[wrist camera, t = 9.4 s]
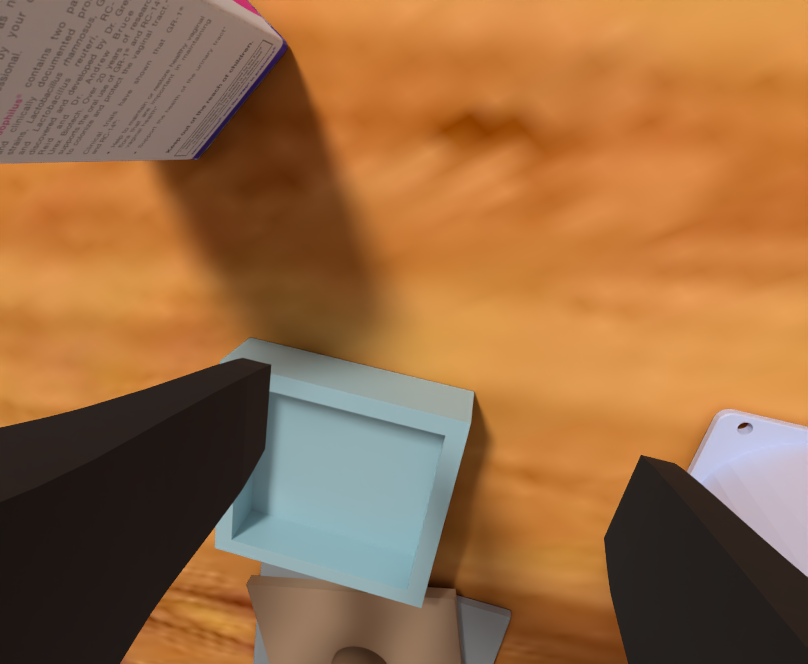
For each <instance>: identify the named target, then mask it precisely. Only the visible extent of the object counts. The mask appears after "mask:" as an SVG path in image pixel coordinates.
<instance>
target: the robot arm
mask: <svg viewBox="0 0 808 664" xmlns="http://www.w3.org/2000/svg"><path fill="white" fill-rule="evenodd" d="M270 377H271V364H267V363H262V362H258V361H254V360H250V359H246V358H239V359H235V360H231V361H228V362H224V363H221V364H218V365H215V366H212V367H209V368H206V369H203V370H200V371H197V372H194V373H192V374H189V375H186V376H183V377H180V378H177V379H174V380H171V381H168V382H165V383H162V384H159V385H156V386H153V387H150V388H147V389H144V390H141V391H138V392H135V393H131V394H128V395H125V396H121V397H118V398H115V399H111V400H108V401H105V402H101V403H98V404H95V405H92V406H88V407H85V408H81V409H77V410H74V411H70V412H66V413H62V414H58V415H54V416H50V417H46V418H41V419H37V420H33V421H28V422H24V423H19V424H15V425H10V426H6V427H1V428H0V664H120V662H121V661H122V659H123V658H124V656H125V654H126V653H127V651H128V650H129V648H130V646H131V645H132V643H133V641H134V640H135V638H136V637H137V635H138V633H139V632H140V630H141V629H142V627H143V625H144V624H145V622H146V621H147V619H148V617H149V616H150V614H151V613H152V611H153V610H154V608H155V607H156V605H157V604H158V603H159V601H160V600H161V598H162V597H163V595H164V594H165V593H166V591H167V590H168V588H169V587H170V586H171V584H172V583H173V582H174V580H175V579H176V578H177V576H178V575H179V574H180V572H181V571H182V570H183V568H184V567H185V566H186V565H187V563H188V562H189V561H190V559H191V558H192V557H193V555H194V554H195V553H196V551H197V550H198V549H199V547H200V546H201V545H202V543H203V542H204V541H205V539H206V538H207V537H208V535H209V534H210V533H211V532H212V530H213V529H214V528H215V526H216V525H217V524H218V522H219V521H220V520H221V518H222V517H223V516H224V514H225V513H226V511H227V510H228V509H229V507H230V506H231V505H232V503H233V502H234V501H235V499H236V498H237V497H238V495H239V494H240V492H241V491H242V489H243V488H244V486H245V484H246V483H247V481H248V479H249V477H250V476H251V474H252V472H253V470H254V469H255V467H256V465H257V463H258V461H259V459H260V458H261V456H262V454H263V452H264V450H265V445H266V431H267V418H268V404H269V391H270ZM744 422H745V423H748V425H747V426H746V427H745V428H742V429H737V428H738V426H739V425H740V424H742V423H744ZM604 542H605V552H606V562H607V571H608V578H609V586H610V592H611V597H612V601H613V605H614V609H615V613H616V617H617V621H618V625H619V629H620V633H621V637H622V641H623V645H624V649H625V653H626V656H627V660H628V664H808V427H806V426H802V425H798V424H794V423H789V422H785V421H781V420H776V419H772V418H768V417H764V416H759V415H755V414H751V413H746V412H742V411H738V410H734V409H725V410H721V411H720V412H718V413H717V414H716V415H715V416H714V418H713V420H712V422H711V424H710V426H709V428H708V430H707V432H706V434H705V436H704V438H703V440H702V442H701V444H700V446H699V448H698V450H697V452H696V454H695V456H694V458H693V460H692V462H691V464H690V466H689V468H688V470H687V472H686V471H685V470H683V469H682V468H681V467H679V466H678V465H677V464H675V463H671V462H667V461H663V460H659V459H655V458H651V457H647V456H643V455H641V456H640V459H639V461H638V463H637V465H636V467H635V470H634V472H633V474H632V476H631V479H630V481H629V483H628V485H627V488H626V490H625V492H624V494H623V497H622V499H621V501H620V503H619V506H618V508H617V510H616V512H615V515H614V517H613V519H612V521H611V524H610V526H609V528H608V530H607V533H606V535H605V537H604Z"/></svg>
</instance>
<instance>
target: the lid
mask: <svg viewBox="0 0 808 664" xmlns="http://www.w3.org/2000/svg"><path fill="white" fill-rule="evenodd" d="M246 585H247V588H248V592H249V595H250V599H251V602H252V605H253V609H254V612H255V616H256V619H257V622H258V626H259V629H260V633H261V636H262V639H263V643H264V646H265V650H266V653H267V656H268V660H269V663H270V664H463V657H462V647H461V637H460V627H459V617H458V607H457V597H456V589H448V588H434V587H427V589H426V592H425V596H424V600H423V604H422V607H421V608H419V607H416V606H412V605H409V604H405V603H402V602H398V601H395V600H392V599H388V598H385V597H381V596H378V595H374V594H371V593H368V592H364V591H361V590H357V589H354V588H350V587H347V586H344V585H340V584H337V583H333V582H330V581H326V580H316V579H302V578H287V577H272V576H258V575H251V577H250V579H249V580H248V582H247V584H246Z"/></svg>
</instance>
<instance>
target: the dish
mask: <svg viewBox="0 0 808 664" xmlns="http://www.w3.org/2000/svg"><path fill="white" fill-rule="evenodd" d="M239 358H246V359H250V360H254V361H258V362H262V363H267V364H271V377H270V391H269V404H268V418H267V431H266V445H265V450H264V452H263V454H262V456H261V458H260V459H259V461H258V463H257V465H256V467H255V469H254V470H253V472H252V474H251V476H250V477H249V479H248V481H247V483H246V484H245V486H244V488H243V489H242V491H241V492H240V494H239V495H238V497H237V498H236V499H235V501H234V502H233V503H232V505H231V506H230V507H229V509H228V510H227V511H226V513H225V514H224V516H223V517H222V518H221V520H220V521H219V522H218V524H217V525H216V530H215V548H216V549H220V550H223V551H227V552H230V553H234V554H237V555H241V556H244V557H247V558H251V559H254V560H258V561H261V562H265V563H268V564H271V565H275V566H278V567H282V568H285V569H289V570H292V571H295V572H299V573H302V574H306V575H309V576H313V577H316V578H319V579H323V580H326V581H330V582H333V583H337V584H340V585H344V586H347V587H350V588H354V589H357V590H361V591H364V592H368V593H371V594H374V595H378V596H381V597H385V598H388V599H392V600H395V601H398V602H402V603H405V604H409V605H412V606H416V607H419V608H421V607H422V604H423V600H424V596H425V592H426V589H427V585H428V581H429V578H430V574H431V570H432V566H433V563H434V559H435V555H436V552H437V548H438V544H439V540H440V537H441V533H442V529H443V526H444V522H445V518H446V514H447V511H448V507H449V503H450V500H451V496H452V492H453V488H454V485H455V481H456V477H457V474H458V470H459V466H460V462H461V459H462V455H463V451H464V448H465V444H466V440H467V436H468V433H469V429H470V425H471V418H472V409H473V399H474V391H469V390H465V389H461V388H457V387H453V386H449V385H445V384H441V383H436V382H432V381H428V380H424V379H420V378H416V377H412V376H408V375H403V374H399V373H395V372H391V371H387V370H383V369H379V368H375V367H371V366H366V365H362V364H358V363H354V362H350V361H346V360H342V359H338V358H333V357H329V356H325V355H321V354H317V353H313V352H309V351H305V350H300V349H296V348H292V347H288V346H284V345H280V344H276V343H272V342H268V341H263V340H259V339H255V338H251V337H250V338H249V339H247V340H246V341H245V342H244V343H242V344H241V345H240V346H238V347H237V348H236V349H235V350H233V351H232V352H231V353H230V354H228V355H227V356H226V357H225V358H223V359H222V360H221V361H220V364H221V363H224V362H228V361H231V360H235V359H239Z"/></svg>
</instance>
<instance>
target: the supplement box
mask: <svg viewBox="0 0 808 664" xmlns="http://www.w3.org/2000/svg"><path fill="white" fill-rule="evenodd" d="M286 50H287V43H286V41H285V40H284V39H283V38H282V37H281V35H280V34H279V33H278V32H277V31H276V30H275V29H274V28H273V27H272V26H271V25H270V24H269V23H268V22H267V21H266V20H265V19H264V18H263V17H262V16H261V14H260V13H259V12H258V11H257V10H256V9H255V8H254V7H253V6H252V5H251V4H250V2H249V1H248V0H0V163H46V162H99V161H146V160H189V159H193V160H198V159H199V158H200V157H201V155H202V154H203V153H204V152H205V151H206V150H207V149H208V147H209V146H210V145H211V144H212V142H213V141H214V140H215V139H216V137H217V136H218V135H219V133H220V132H221V131H222V129H223V128H224V127H225V126H226V124H227V123H228V122H229V121H230V119H231V118H232V117H233V116H234V115H235V113H236V112H237V111H238V109H239V108H240V107H241V106H242V105H243V104H244V102H245V101H246V100H247V98H248V97H249V96H250V95H251V94H252V92H253V91H254V90H255V89H256V88H257V87H258V85H259V84H260V83H261V82H262V81H263V79H264V78H265V77H266V76H267V74H268V73H269V72H270V71H271V69H272V68H273V67H274V65H275V64H276V63H277V62H278V61H279V59H280V58H281V57H282V55H283V54H284V53H285V52H286Z"/></svg>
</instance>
